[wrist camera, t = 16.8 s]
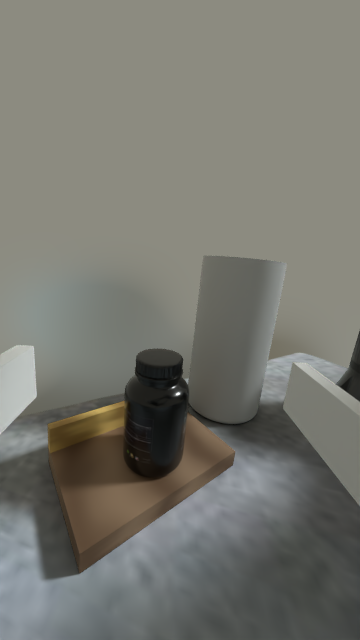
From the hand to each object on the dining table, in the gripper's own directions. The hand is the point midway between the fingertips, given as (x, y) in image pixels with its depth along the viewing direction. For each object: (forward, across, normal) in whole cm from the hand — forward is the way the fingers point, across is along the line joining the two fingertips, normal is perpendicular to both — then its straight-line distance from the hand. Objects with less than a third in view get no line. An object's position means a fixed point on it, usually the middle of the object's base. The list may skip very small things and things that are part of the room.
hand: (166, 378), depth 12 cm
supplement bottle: (+11, 0, -16) cm, 19 cm away
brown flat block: (+12, -1, -18) cm, 21 cm away
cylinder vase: (+26, +11, -18) cm, 33 cm away
